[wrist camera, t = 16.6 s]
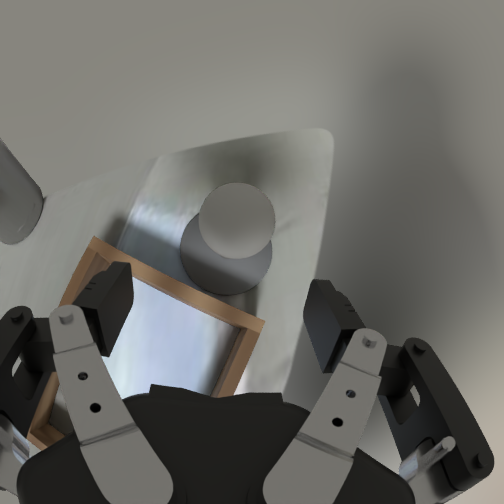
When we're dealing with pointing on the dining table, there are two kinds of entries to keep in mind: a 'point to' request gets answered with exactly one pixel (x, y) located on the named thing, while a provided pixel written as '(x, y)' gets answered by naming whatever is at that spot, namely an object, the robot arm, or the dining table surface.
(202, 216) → the lightbulb
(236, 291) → the mat
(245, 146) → the dining table surface
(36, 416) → the shallow wooden tray
